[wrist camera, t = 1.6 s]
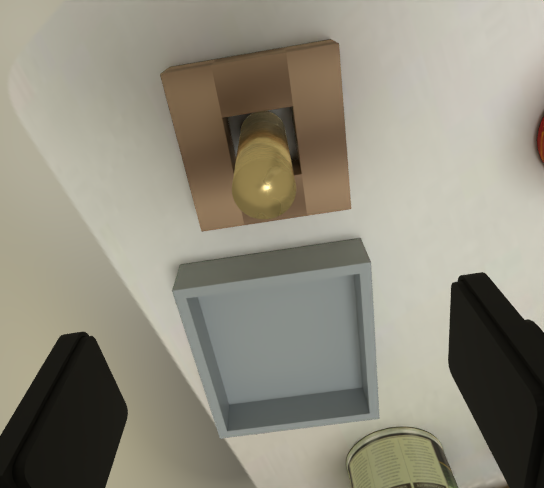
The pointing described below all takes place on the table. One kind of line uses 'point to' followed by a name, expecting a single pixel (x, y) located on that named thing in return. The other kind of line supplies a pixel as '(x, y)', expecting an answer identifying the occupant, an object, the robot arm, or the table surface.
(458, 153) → the table surface
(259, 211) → the pin
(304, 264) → the pin tray
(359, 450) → the coffee can
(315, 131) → the pin bracket
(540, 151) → the canned food
